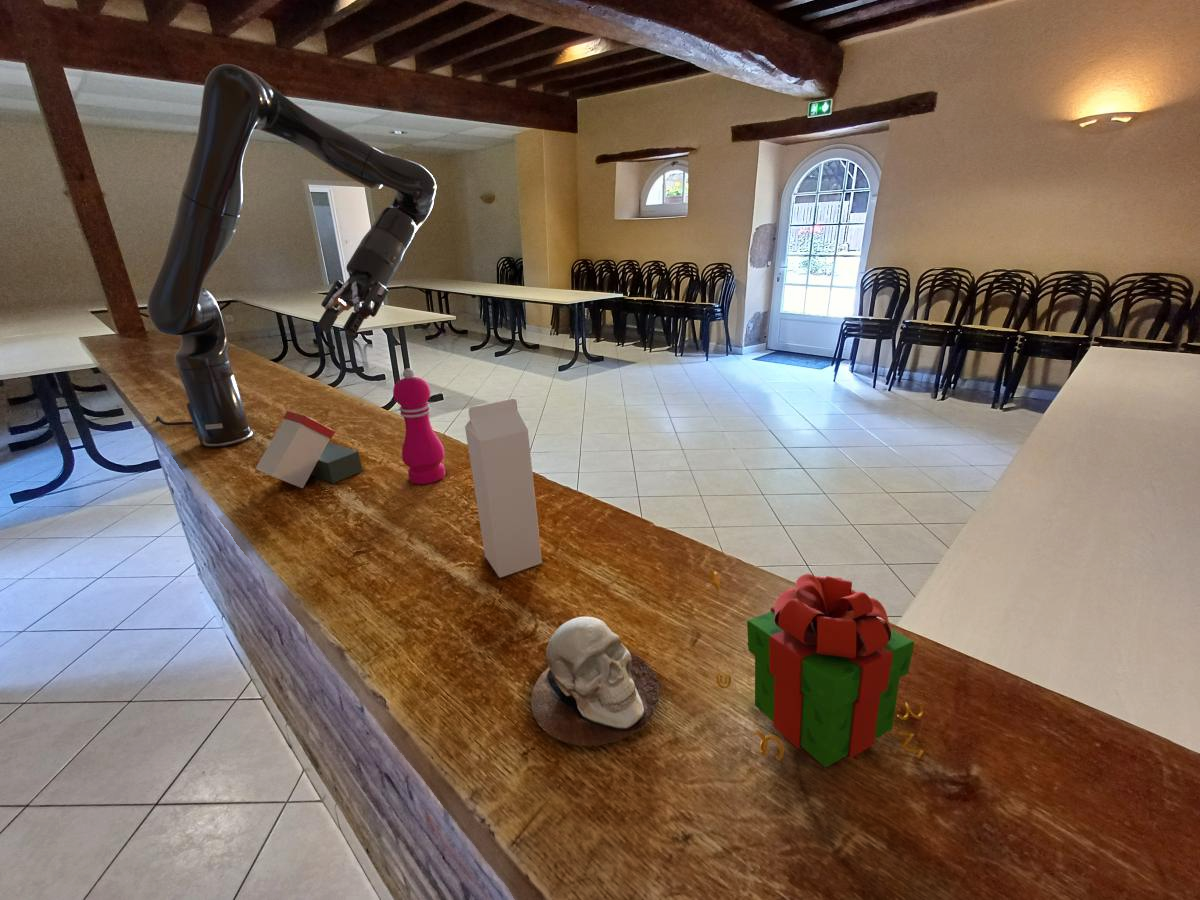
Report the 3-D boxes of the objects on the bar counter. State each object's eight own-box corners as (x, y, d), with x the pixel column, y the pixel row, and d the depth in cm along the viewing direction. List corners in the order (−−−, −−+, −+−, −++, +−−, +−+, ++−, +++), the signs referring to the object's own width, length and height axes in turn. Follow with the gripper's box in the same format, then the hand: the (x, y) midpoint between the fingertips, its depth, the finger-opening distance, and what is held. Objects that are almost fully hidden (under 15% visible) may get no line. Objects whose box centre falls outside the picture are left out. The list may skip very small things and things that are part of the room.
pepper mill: (453, 468, 102) (436, 362, 95) (439, 485, 96) (419, 373, 88) (416, 468, 103) (396, 363, 96) (400, 485, 97) (376, 374, 89)
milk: (542, 564, 73) (527, 404, 64) (498, 579, 70) (476, 414, 61) (524, 542, 77) (508, 392, 69) (483, 556, 75) (460, 401, 66)
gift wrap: (802, 644, 59) (809, 520, 56) (987, 768, 43) (1015, 604, 39) (644, 712, 51) (639, 571, 47) (801, 898, 35) (813, 705, 31)
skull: (695, 690, 50) (635, 662, 44) (629, 787, 49) (558, 774, 43) (617, 617, 60) (558, 585, 53) (560, 699, 59) (493, 676, 52)
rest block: (333, 483, 99) (327, 463, 97) (298, 469, 105) (292, 450, 104) (362, 471, 103) (358, 451, 102) (327, 458, 110) (322, 440, 108)
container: (279, 498, 94) (258, 430, 90) (261, 490, 98) (240, 424, 93) (345, 471, 104) (329, 408, 99) (327, 464, 107) (310, 403, 102)
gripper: (339, 246, 105) (296, 317, 101) (384, 244, 97) (339, 321, 93) (369, 272, 111) (330, 340, 107) (414, 272, 103) (374, 346, 99)
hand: (334, 331), depth 100 cm, fingers open, 8 cm apart
